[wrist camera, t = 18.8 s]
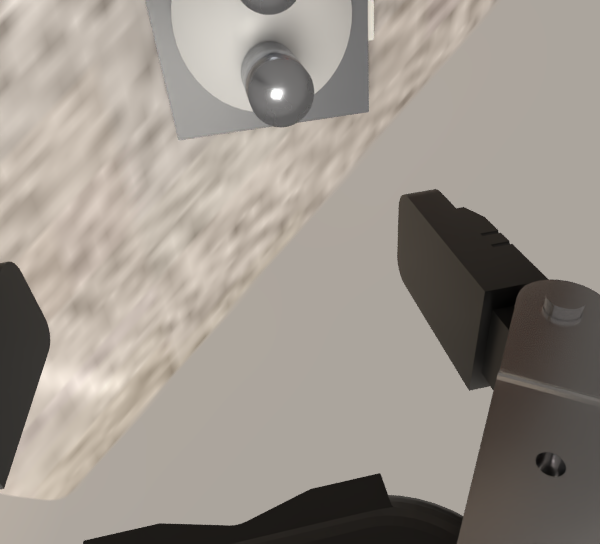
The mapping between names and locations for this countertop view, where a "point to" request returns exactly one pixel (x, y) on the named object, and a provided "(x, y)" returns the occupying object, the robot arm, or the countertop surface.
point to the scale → (240, 39)
